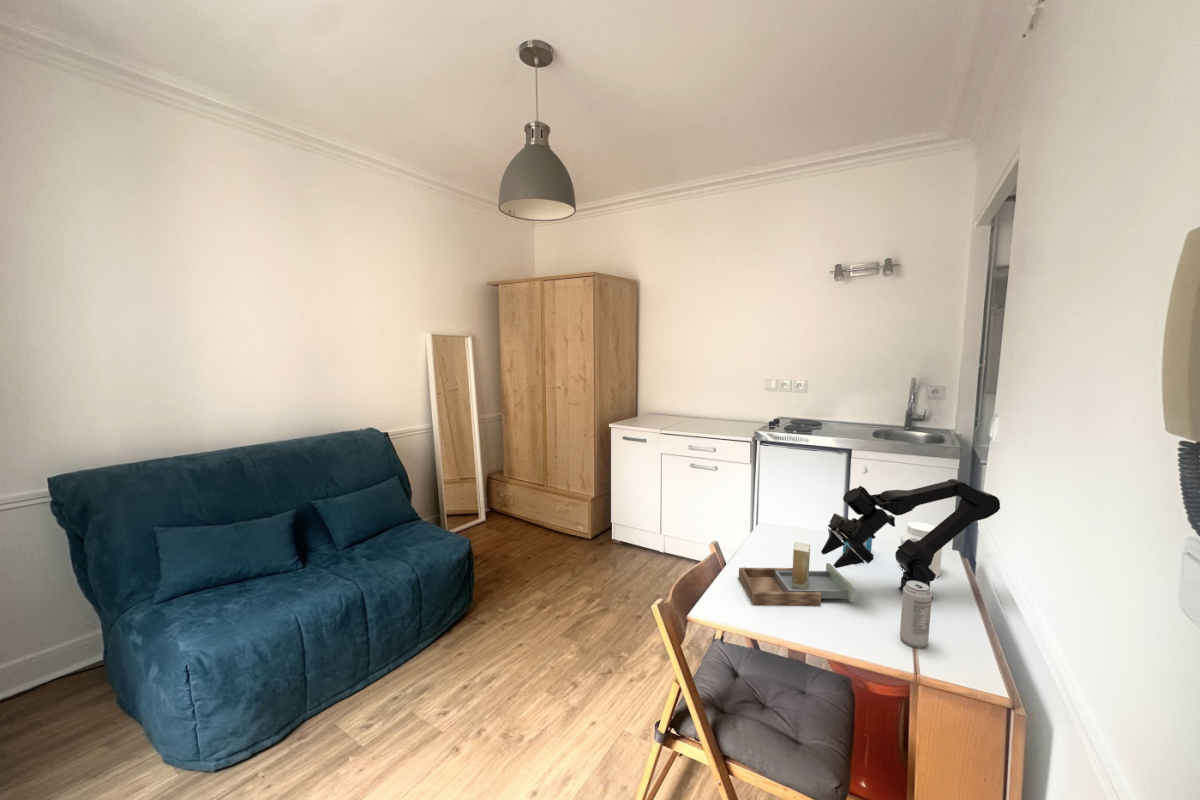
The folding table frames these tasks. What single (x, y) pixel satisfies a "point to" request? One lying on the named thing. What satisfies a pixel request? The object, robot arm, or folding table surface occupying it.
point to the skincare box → (801, 565)
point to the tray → (820, 583)
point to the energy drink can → (915, 614)
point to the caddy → (773, 589)
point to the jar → (917, 533)
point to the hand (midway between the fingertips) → (828, 560)
